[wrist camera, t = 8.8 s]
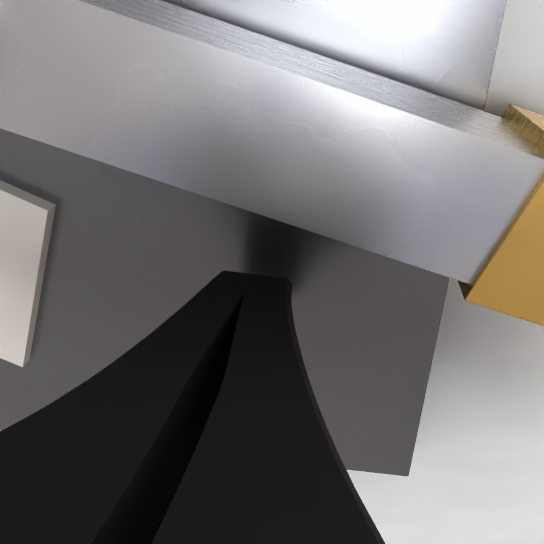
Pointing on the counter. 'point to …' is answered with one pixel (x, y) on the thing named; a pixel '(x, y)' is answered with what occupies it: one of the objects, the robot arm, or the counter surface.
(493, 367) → the counter surface
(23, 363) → the label plate
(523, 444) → the counter surface
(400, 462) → the tray
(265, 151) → the swing arm
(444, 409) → the counter surface
